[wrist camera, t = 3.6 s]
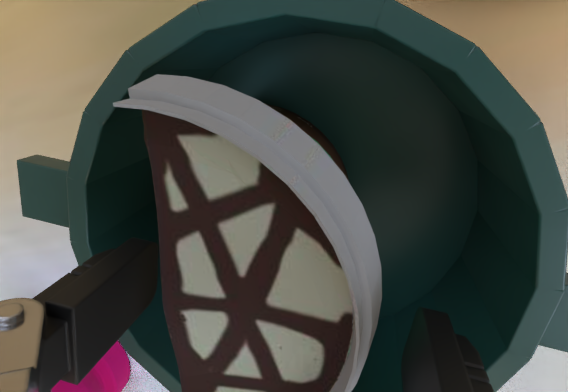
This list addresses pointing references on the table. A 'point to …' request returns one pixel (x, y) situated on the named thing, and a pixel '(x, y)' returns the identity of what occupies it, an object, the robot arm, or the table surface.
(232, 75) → the pot
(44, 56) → the table surface
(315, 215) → the food container
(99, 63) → the table surface
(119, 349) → the pepper mill
